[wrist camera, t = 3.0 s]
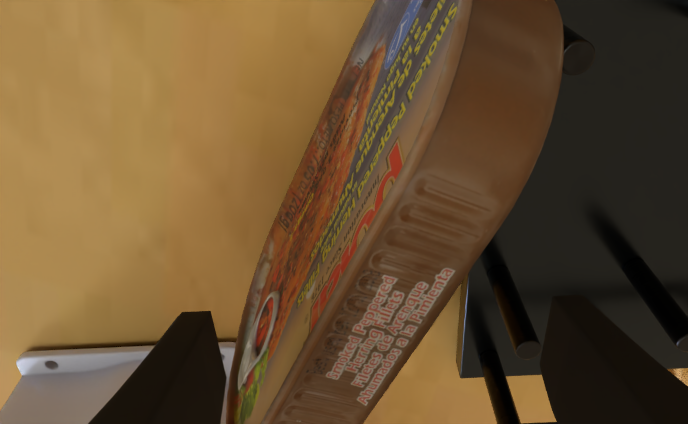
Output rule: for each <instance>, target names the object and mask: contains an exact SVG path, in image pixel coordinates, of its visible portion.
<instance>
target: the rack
mask: <svg viewBox="0 0 688 424" xmlns="http://www.w3.org/2000/svg"><path fill="white" fill-rule="evenodd" d="M554 1H555V3H556V4H557V6H558V9H559V12H560V15H561V19H562V22H563V34H564V56H563V67H562V77H561V83H560V88H559V93H558V97H557V101H556V105H555V109H554V113H553V117H552V121H551V124H550V127H549V130H548V133H547V136H546V138H545V141H544V144H543V147H542V149H541V152H540V154H539V156H538V159H537V161H536V163H535V166H534V168H533V170H532V172H531V174H530V177H529V179H528V181H527V182H526V184H525V186H524V188H523V190H522V192H521V193H520V195H519V197H518V199H517V201H516V203H515V205H514V206H513V208H512V210H511V211H510V213H509V214H508V216H507V217H506V219H505V220H504V222H503V223H502V225H501V226H500V228H499V229H498V231H497V232H496V234H495V235H494V237H493V238H492V239H491V241H490V242H489V244H488V245H487V246H486V247H485V249H484V250H483V252H482V253H481V255H480V256H479V258H478V259H477V261H476V262H475V263H474V265H473V266H472V268H471V270H470V271H469V273H468V274H467V275H466V277H465V278H464V279H463V281H462V283H461V298H460V312H459V326H458V340H457V354H456V363H457V367H458V371H459V375H460V378H477V377H484V379H485V382H486V386H487V389H488V393H489V396H490V400H491V403H492V407H493V410H494V414H495V417H496V421H497V424H521V422H520V419H519V416H518V413H517V410H516V407H515V404H514V401H513V398H512V395H511V392H510V388H509V385H508V382H507V379H506V376H522V375H542V373H541V369H540V365H539V364H540V359H541V354H542V349H543V344H544V339H545V333H546V328H547V323H548V318H549V313H550V307H551V302H552V297H553V296H564V295H583V296H584V297H585V298H587V299H588V300H589V301H590V302H591V303H592V304H593V305H594V306H596V307H597V308H598V309H599V310H600V311H601V312H602V313H603V314H604V315H605V316H607V317H608V318H609V319H610V320H611V321H612V322H613V323H614V324H615V325H617V326H618V327H619V328H620V329H621V330H622V331H623V332H624V333H625V334H627V335H628V336H629V337H630V338H631V339H632V340H633V341H634V342H636V343H637V344H638V345H639V346H640V347H641V348H642V349H643V350H645V351H646V352H647V353H648V354H649V355H650V356H652V357H653V358H654V359H655V360H656V361H657V362H659V363H660V364H661V365H662V366H663V367H665V368H666V369H677V368H688V0H554ZM523 424H558V423H557V422H547V423H523Z"/></svg>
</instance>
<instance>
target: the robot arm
mask: <svg viewBox="0 0 688 424" xmlns="http://www.w3.org/2000/svg"><path fill="white" fill-rule="evenodd" d="M235 346H236V343H235V342H218V340H217V336H216V332H215V328H214V323H213V319H212V315H211V311H199V312H182V313H181V314H180V315H179V316H178V317H177V318H176V320H175V321H174V322H173V323H172V325H171V326H170V327H169V328H168V330H167V331H166V332H165V334H164V335H163V336H162V337H161V339H160V340H159V341H158V342H157V344H156V345H153V346H132V347H111V348H89V349H68V350H47V351H27V352H23V353H22V354H21V355H20V356H19V358H18V359H17V362H16V364H17V367H18V369H19V371H20V372H21V374H22V377H21V379H20V381H19V382H18V384H17V385H16V387H15V389H14V390H13V392H12V393H11V395H10V397H9V398H8V400H7V401H6V403H5V405H4V406H3V408H2V409H1V411H0V424H226V411H227V410H226V406H227V392H228V386H229V377H230V371H231V367H232V361H233V357H234V352H235ZM221 354H222V355H221ZM539 365H540V369H541V373H542V376H543V380H544V384H545V387H546V391H547V394H548V398H549V401H550V404H551V408H552V411H553V413H554V416H555V418H556V421H557V423H558V424H688V386H686V385H685V384H684V383H683V382H682V381H680V380H679V379H678V378H677V377H675V376H674V375H673V374H672V373H671V372H669V371H668V370H667V369H666V368H665V367H663V366H662V365H661V364H660V363H659V362H657V361H656V360H655V359H654V358H653V357H652V356H650V355H649V354H648V353H647V352H646V351H645V350H643V349H642V348H641V347H640V346H639V345H638V344H637V343H636V342H634V341H633V340H632V339H631V338H630V337H629V336H628V335H627V334H625V333H624V332H623V331H622V330H621V329H620V328H619V327H618V326H617V325H615V324H614V323H613V322H612V321H611V320H610V319H609V318H608V317H607V316H605V315H604V314H603V313H602V312H601V311H600V310H599V309H598V308H597V307H596V306H594V305H593V304H592V303H591V302H590V301H589V300H588V299H587V298H585V297H584V296H583V295H564V296H553V297H552V302H551V307H550V313H549V318H548V323H547V328H546V333H545V339H544V344H543V349H542V354H541V359H540V364H539Z"/></svg>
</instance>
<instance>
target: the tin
mask: <svg viewBox="0 0 688 424" xmlns="http://www.w3.org/2000/svg"><path fill="white" fill-rule="evenodd" d="M563 56H564V34H563V22H562V19H561V15H560V12H559V9H558V6H557V4H556V3H555V1H554V0H376V1H375V2H374V4H373V6H372V8H371V10H370V12H369V14H368V15H367V17H366V20H365V22H364V24H363V26H362V28H361V30H360V32H359V34H358V36H357V38H356V40H355V42H354V44H353V46H352V48H351V51H350V53H349V55H348V57H347V59H346V62H345V64H344V66H343V68H342V71H341V73H340V75H339V77H338V79H337V82H336V84H335V86H334V88H333V91H332V93H331V95H330V98H329V100H328V102H327V105H326V107H325V109H324V111H323V113H322V115H321V118H320V120H319V123H318V125H317V127H316V129H315V131H314V133H313V136H312V138H311V140H310V143H309V145H308V147H307V149H306V151H305V154H304V156H303V158H302V160H301V163H300V165H299V167H298V169H297V171H296V173H295V176H294V178H293V180H292V182H291V185H290V187H289V189H288V191H287V194H286V196H285V198H284V200H283V203H282V205H281V207H280V209H279V212H278V214H277V216H276V218H275V220H274V223H273V225H272V227H271V230H270V232H269V235H268V237H267V240H266V242H265V245H264V247H263V251H262V253H261V256H260V259H259V262H258V264H257V267H256V270H255V273H254V276H253V279H252V282H251V286H250V289H249V293H248V295H247V299H246V304H245V307H244V311H243V314H242V319H241V323H240V327H239V331H238V336H237V341H236V346H235V352H234V357H233V361H232V367H231V371H230V377H229V386H228V392H227V406H226V410H227V411H226V424H363V422H364V421H365V420H366V418H367V417H368V415H369V414H370V413H371V411H372V410H373V408H374V407H375V405H376V404H377V403H378V401H379V400H380V399H381V397H382V396H383V394H384V393H385V391H386V390H387V389H388V387H389V386H390V384H391V383H392V382H393V380H394V379H395V377H396V376H397V374H398V373H399V371H400V370H401V368H402V367H403V366H404V364H405V363H406V362H407V360H408V359H409V357H410V356H411V354H412V353H413V352H414V350H415V349H416V348H417V346H418V345H419V343H420V342H421V340H422V339H423V337H424V336H425V334H426V333H427V332H428V330H429V329H430V327H431V326H432V324H433V323H434V321H435V320H436V318H437V317H438V316H439V314H440V313H441V311H442V310H443V308H444V307H445V306H446V304H447V303H448V301H449V300H450V298H451V297H452V295H453V294H454V292H455V291H456V289H457V288H458V286H459V285H460V283H461V282H462V281H463V279H464V278H465V277H466V275H467V274H468V273H469V271H470V270H471V268H472V266H473V265H474V263H475V262H476V261H477V259H478V258H479V256H480V255H481V253H482V252H483V250H484V249H485V247H486V246H487V245H488V244H489V242H490V241H491V239H492V238H493V237H494V235H495V234H496V232H497V231H498V229H499V228H500V226H501V225H502V223H503V222H504V220H505V219H506V217H507V216H508V214H509V213H510V211H511V210H512V208H513V206H514V205H515V203H516V201H517V199H518V197H519V195H520V193H521V192H522V190H523V188H524V186H525V184H526V182H527V181H528V179H529V177H530V174H531V172H532V170H533V168H534V166H535V163H536V161H537V159H538V156H539V154H540V152H541V149H542V147H543V144H544V141H545V138H546V136H547V133H548V130H549V127H550V124H551V121H552V117H553V113H554V109H555V105H556V101H557V97H558V93H559V88H560V83H561V77H562V67H563Z"/></svg>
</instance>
